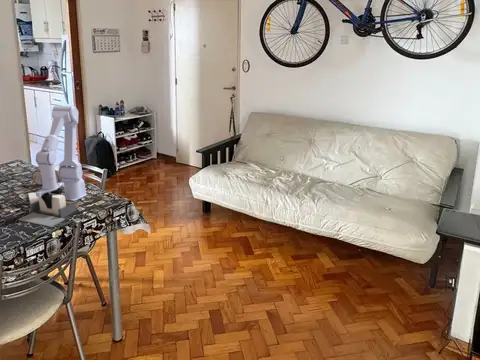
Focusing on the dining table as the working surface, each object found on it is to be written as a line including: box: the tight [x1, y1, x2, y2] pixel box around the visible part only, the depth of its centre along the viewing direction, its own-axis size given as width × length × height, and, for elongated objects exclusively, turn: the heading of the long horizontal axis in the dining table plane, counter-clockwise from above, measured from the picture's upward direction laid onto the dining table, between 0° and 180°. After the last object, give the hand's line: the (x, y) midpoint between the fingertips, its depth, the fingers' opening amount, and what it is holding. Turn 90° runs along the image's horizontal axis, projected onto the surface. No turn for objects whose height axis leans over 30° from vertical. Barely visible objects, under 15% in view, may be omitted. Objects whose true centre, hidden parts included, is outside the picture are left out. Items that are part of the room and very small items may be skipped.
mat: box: [17, 212, 66, 228], centre depth 192 cm, size 8×18×1 cm, turn 68°
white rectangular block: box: [38, 192, 67, 215], centre depth 199 cm, size 4×12×8 cm, turn 67°
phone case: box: [27, 191, 39, 205], centre depth 215 cm, size 9×2×16 cm
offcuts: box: [65, 200, 79, 209], centre depth 206 cm, size 3×13×2 cm, turn 68°
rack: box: [29, 200, 77, 219], centre depth 200 cm, size 9×17×4 cm, turn 68°
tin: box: [31, 168, 62, 186], centre depth 232 cm, size 15×3×8 cm, turn 84°
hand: (53, 206), depth 200 cm, fingers closed on white rectangular block, 3 cm apart
